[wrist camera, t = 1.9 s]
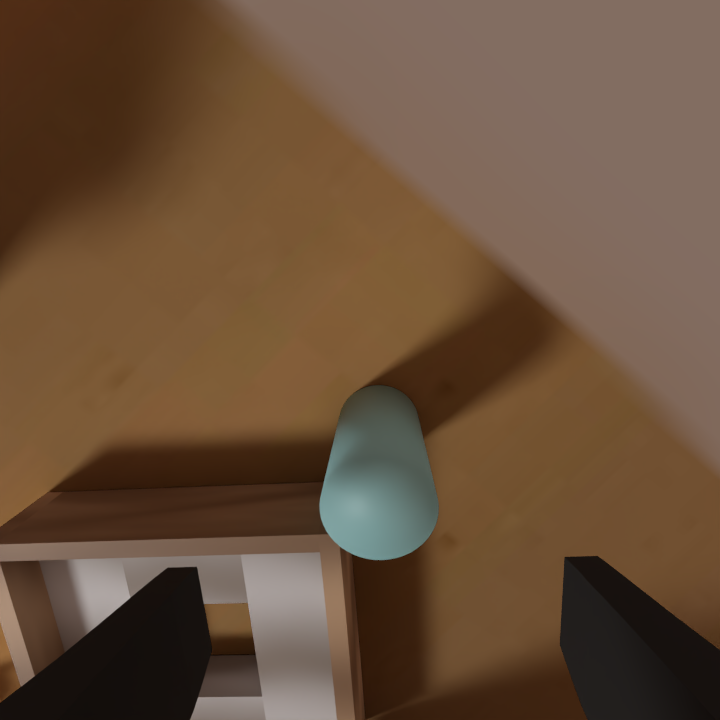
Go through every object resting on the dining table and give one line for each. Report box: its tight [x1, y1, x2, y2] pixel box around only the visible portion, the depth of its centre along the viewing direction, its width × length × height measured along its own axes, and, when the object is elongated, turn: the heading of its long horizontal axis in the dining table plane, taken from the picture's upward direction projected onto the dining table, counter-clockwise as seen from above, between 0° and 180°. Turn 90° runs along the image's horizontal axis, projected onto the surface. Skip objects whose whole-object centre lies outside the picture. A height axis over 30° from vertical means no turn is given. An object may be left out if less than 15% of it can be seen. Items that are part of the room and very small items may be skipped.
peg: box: [320, 385, 439, 560], centre depth 15 cm, size 3×3×6 cm
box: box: [0, 482, 365, 720], centre depth 18 cm, size 13×13×4 cm
